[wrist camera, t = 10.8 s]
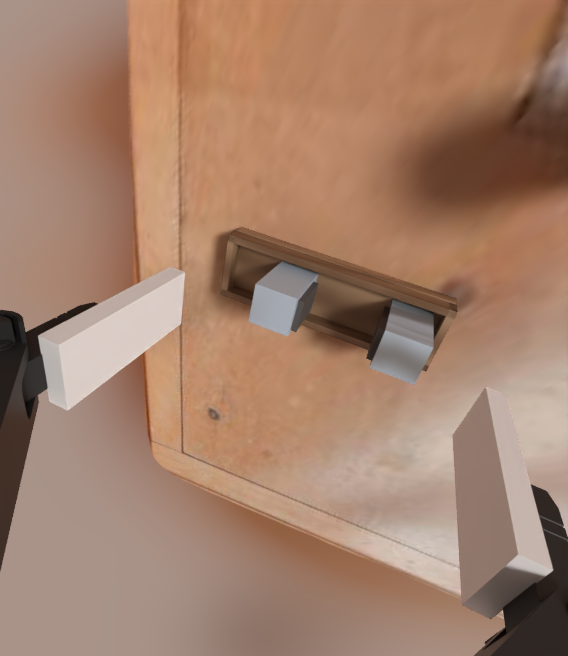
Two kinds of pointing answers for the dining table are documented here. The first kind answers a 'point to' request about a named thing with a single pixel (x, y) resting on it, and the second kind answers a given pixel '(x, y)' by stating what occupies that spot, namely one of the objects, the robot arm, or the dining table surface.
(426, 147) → the dining table surface
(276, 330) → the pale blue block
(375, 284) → the rail
